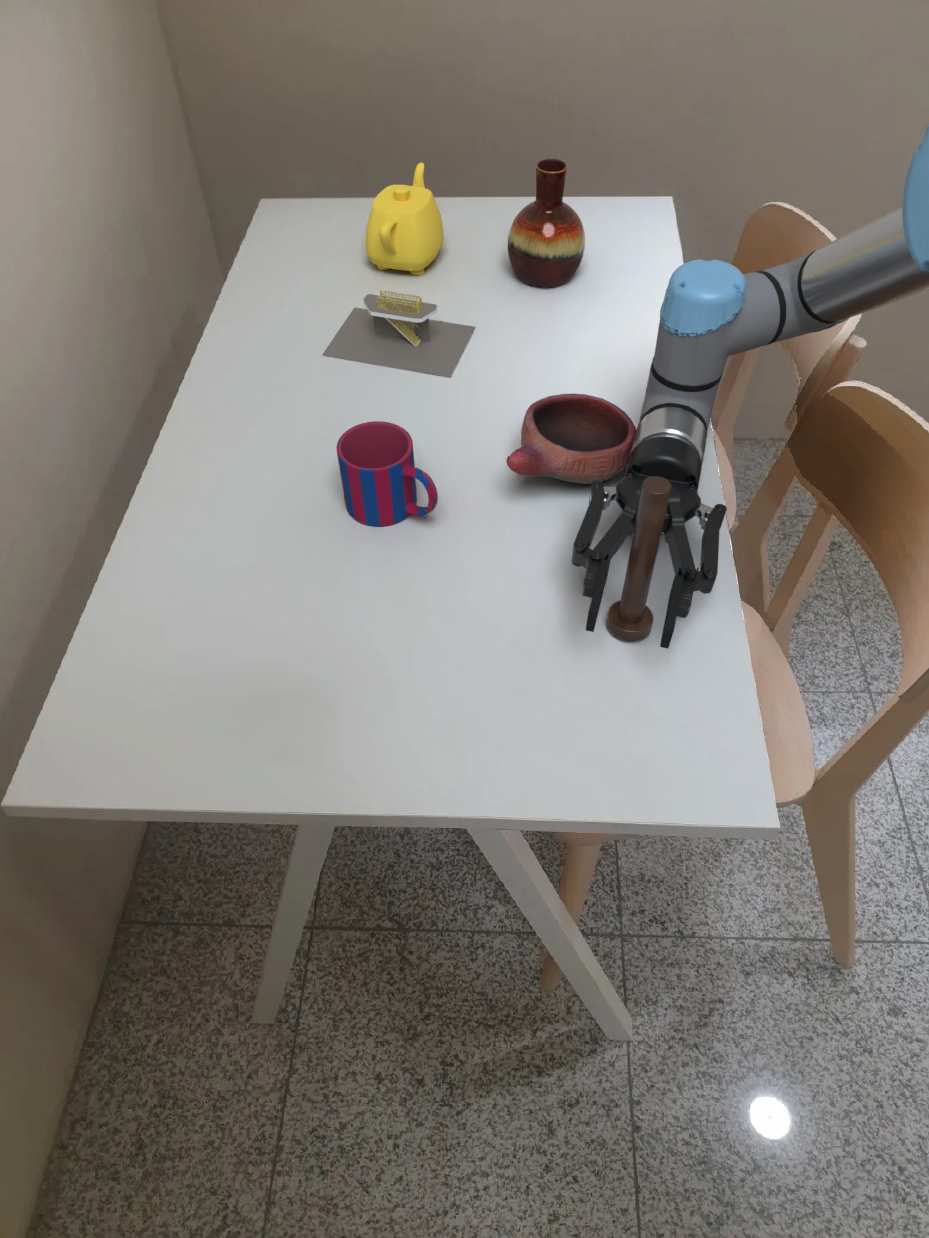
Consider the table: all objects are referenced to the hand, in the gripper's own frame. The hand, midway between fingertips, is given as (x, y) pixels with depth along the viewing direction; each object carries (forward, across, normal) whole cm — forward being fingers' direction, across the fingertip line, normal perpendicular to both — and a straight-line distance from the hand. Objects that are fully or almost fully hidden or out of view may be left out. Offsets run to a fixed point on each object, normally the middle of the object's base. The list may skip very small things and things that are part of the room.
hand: (628, 630), depth 74 cm
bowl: (-26, +10, -7) cm, 29 cm away
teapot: (-67, +44, -7) cm, 81 cm away
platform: (-46, +38, -7) cm, 60 cm away
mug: (-15, +28, -7) cm, 33 cm away
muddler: (-6, 0, -7) cm, 9 cm away
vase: (-68, +23, -7) cm, 72 cm away
